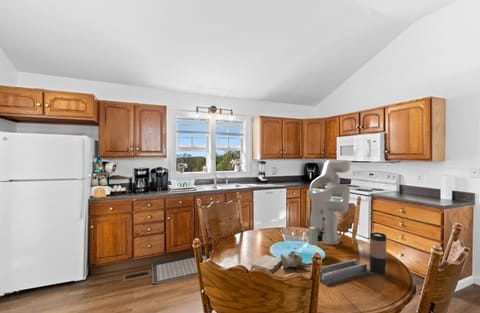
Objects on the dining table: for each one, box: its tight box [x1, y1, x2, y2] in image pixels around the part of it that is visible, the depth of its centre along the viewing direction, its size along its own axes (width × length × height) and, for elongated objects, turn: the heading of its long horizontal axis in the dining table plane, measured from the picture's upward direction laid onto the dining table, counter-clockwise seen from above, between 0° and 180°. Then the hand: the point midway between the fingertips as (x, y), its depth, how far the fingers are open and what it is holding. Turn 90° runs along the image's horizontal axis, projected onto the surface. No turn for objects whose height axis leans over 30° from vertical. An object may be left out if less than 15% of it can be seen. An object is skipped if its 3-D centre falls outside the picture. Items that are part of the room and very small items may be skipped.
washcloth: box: [251, 254, 283, 274], centre depth 135 cm, size 12×18×3 cm, turn 149°
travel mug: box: [369, 232, 387, 276], centre depth 129 cm, size 8×8×20 cm
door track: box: [309, 258, 372, 287], centre depth 126 cm, size 30×12×4 cm, turn 115°
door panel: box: [308, 226, 327, 246], centre depth 151 cm, size 12×3×10 cm, turn 115°
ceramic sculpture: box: [280, 251, 311, 269], centre depth 134 cm, size 11×9×15 cm
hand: (317, 239), depth 151 cm, fingers closed on door panel, 3 cm apart
